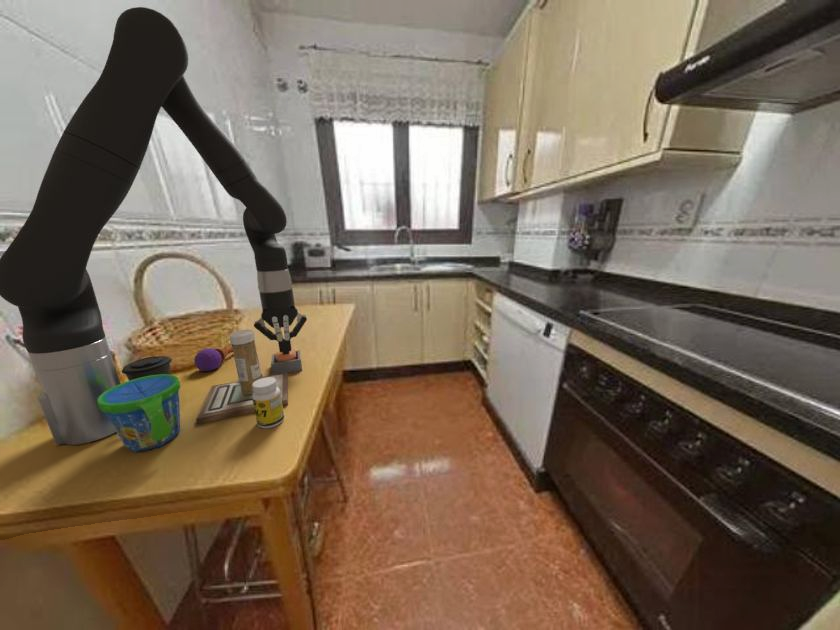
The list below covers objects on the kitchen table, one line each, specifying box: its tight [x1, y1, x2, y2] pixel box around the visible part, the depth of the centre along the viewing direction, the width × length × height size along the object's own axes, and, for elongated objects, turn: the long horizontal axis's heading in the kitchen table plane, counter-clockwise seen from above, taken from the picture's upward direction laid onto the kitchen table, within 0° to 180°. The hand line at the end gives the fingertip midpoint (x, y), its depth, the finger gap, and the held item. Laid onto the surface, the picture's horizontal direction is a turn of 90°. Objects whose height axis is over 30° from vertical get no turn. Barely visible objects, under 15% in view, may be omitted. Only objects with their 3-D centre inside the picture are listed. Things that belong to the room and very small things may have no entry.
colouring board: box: [195, 373, 289, 425], centre depth 69 cm, size 16×14×2 cm
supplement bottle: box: [252, 377, 285, 429], centre depth 59 cm, size 5×5×8 cm
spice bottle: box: [228, 329, 263, 395], centre depth 67 cm, size 5×5×13 cm
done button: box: [274, 349, 297, 363], centre depth 83 cm, size 5×5×4 cm
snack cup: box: [97, 374, 181, 453], centre depth 54 cm, size 16×10×10 cm
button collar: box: [270, 349, 303, 375], centre depth 83 cm, size 7×7×3 cm
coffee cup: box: [121, 355, 172, 381], centre depth 66 cm, size 8×8×10 cm
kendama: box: [193, 346, 233, 372], centre depth 90 cm, size 6×6×20 cm
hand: (286, 353), depth 82 cm, fingers closed
